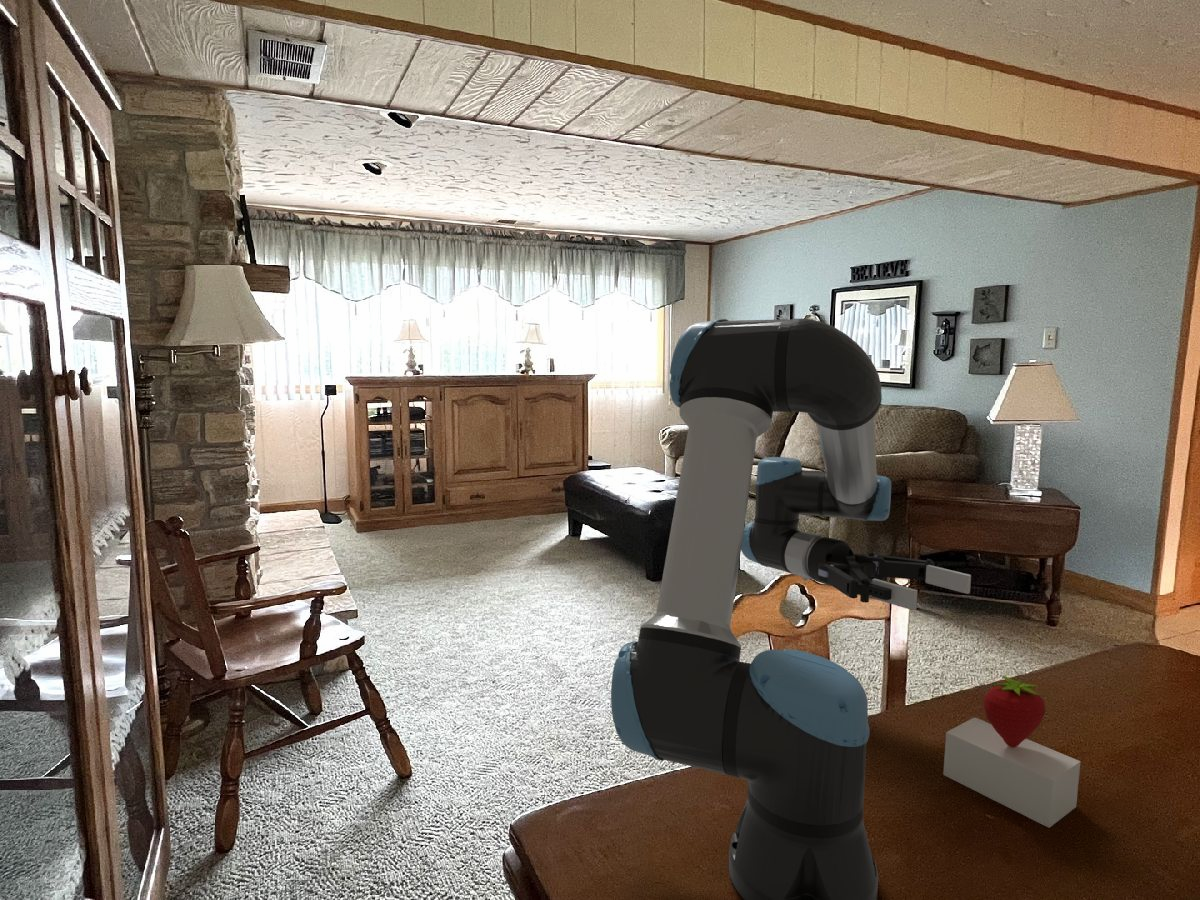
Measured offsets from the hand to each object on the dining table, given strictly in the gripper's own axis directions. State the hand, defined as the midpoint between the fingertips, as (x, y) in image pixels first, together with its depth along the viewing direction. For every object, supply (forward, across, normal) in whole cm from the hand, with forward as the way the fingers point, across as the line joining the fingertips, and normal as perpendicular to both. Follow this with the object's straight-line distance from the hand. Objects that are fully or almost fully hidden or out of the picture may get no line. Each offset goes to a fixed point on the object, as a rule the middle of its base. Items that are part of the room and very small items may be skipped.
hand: (943, 592), depth 101 cm
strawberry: (+12, +4, -16) cm, 21 cm away
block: (+12, +4, -22) cm, 25 cm away
